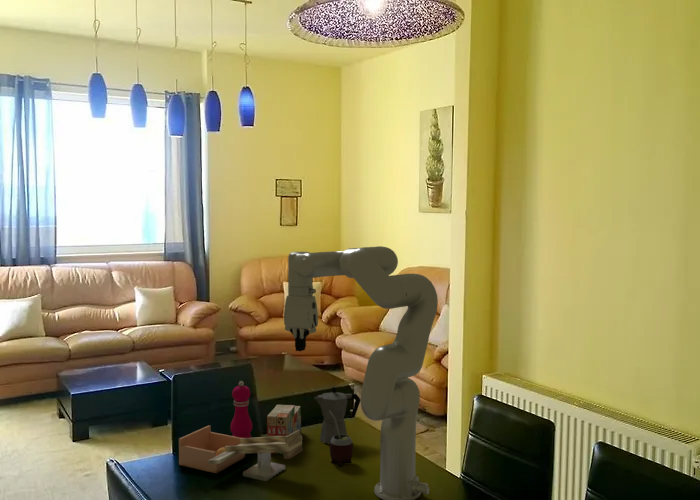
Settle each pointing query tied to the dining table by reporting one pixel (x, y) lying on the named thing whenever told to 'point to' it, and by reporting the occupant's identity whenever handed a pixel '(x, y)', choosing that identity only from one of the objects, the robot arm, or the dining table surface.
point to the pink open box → (206, 449)
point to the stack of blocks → (283, 421)
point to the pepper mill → (241, 412)
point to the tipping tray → (263, 446)
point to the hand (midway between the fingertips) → (300, 350)
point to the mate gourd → (340, 447)
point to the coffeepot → (335, 412)
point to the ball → (220, 451)
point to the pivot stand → (264, 468)
